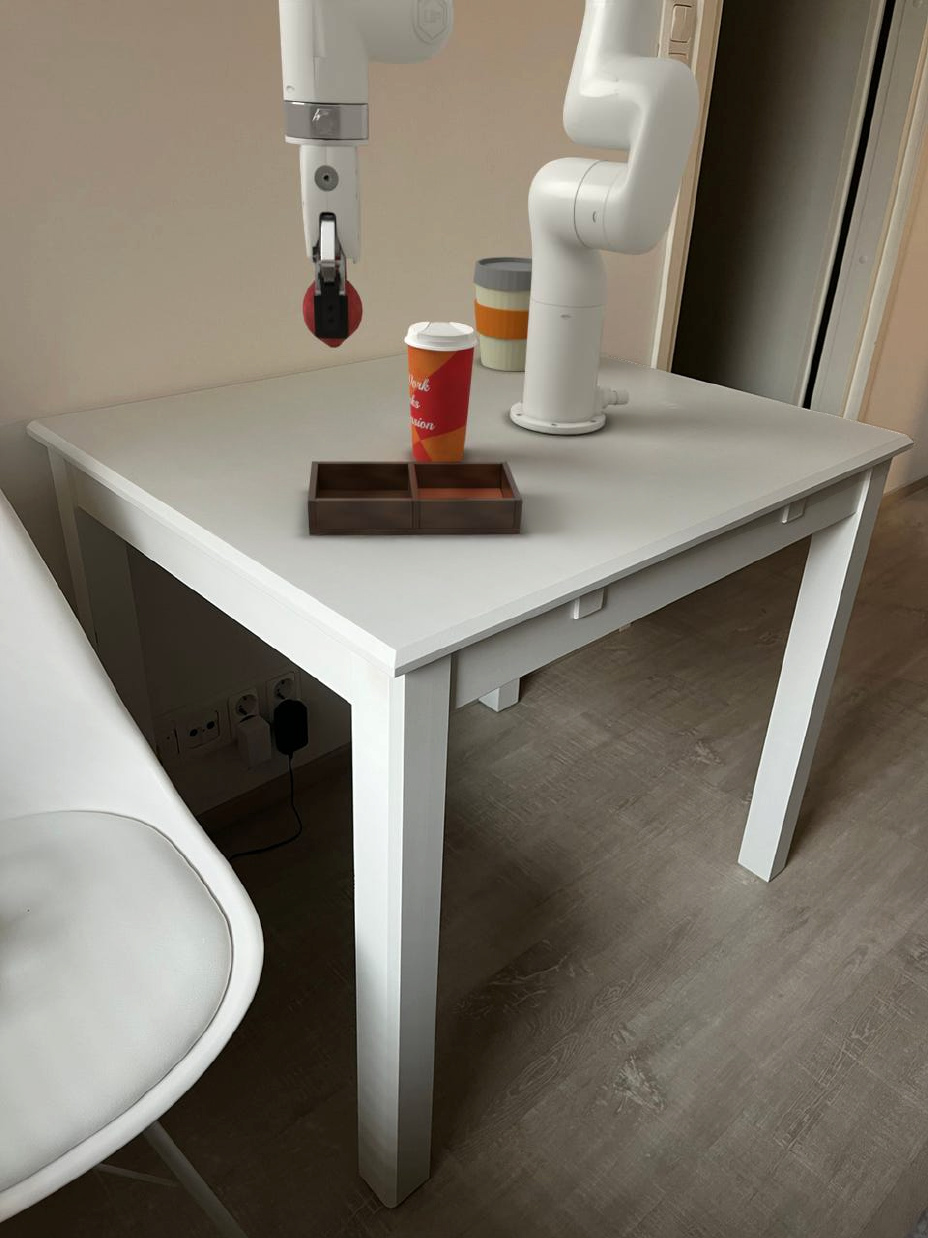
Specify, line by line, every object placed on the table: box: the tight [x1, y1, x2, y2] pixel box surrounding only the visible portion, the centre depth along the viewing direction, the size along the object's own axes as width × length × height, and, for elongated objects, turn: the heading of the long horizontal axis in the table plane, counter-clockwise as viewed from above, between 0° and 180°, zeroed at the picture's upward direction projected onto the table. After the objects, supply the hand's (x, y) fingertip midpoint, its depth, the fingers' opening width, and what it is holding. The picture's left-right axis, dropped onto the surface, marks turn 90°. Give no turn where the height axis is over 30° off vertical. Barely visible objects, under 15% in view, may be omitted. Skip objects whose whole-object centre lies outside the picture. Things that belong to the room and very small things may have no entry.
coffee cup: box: [404, 321, 479, 462], centre depth 111 cm, size 8×8×15 cm
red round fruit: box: [302, 269, 364, 349], centre depth 95 cm, size 6×6×8 cm
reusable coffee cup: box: [472, 256, 532, 372], centre depth 149 cm, size 13×13×15 cm
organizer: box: [307, 460, 523, 536], centre depth 99 cm, size 21×11×4 cm, turn 96°
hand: (333, 327), depth 96 cm, fingers closed on red round fruit, 5 cm apart
